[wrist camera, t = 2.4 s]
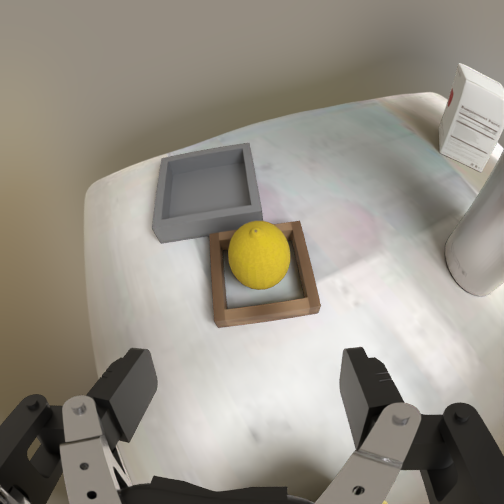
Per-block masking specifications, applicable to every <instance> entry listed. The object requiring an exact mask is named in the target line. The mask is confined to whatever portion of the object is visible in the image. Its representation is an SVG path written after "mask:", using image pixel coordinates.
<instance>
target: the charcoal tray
mask: <svg viewBox="0 0 504 504" xmlns="http://www.w3.org/2000/svg"><path fill="white" fill-rule="evenodd" d="M252 221H263V216H262V208H261V202H260V197H259V191H258V186H257V181H256V175H255V170H254V165H253V159H252V154H251V149H250V144H249V143H244V144H238V145H231V146H225V147H218V148H212V149H207V150H201V151H196V152H191V153H185V154H180V155H176V156H171V157H166V158H162V159H161V165H160V172H159V178H158V185H157V192H156V200H155V208H154V216H153V225H152V229H153V231H154V233H155V234H156V236H157V238H158V239H159V241H160V243H161V244H162V243H168V242H174V241H180V240H186V239H193V238H199V237H206V236H209V234H212V233H218V232H225V231H232V230H238V229H239V228H240V227H241V226H243V225H244V224H246V223H249V222H252Z"/></svg>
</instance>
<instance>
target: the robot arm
mask: <svg viewBox="0 0 504 504" xmlns="http://www.w3.org/2000/svg"><path fill="white" fill-rule="evenodd" d="M445 257H446V262H447V265H448V268H449V270H450V272H451V274H452V276H453V277H454V279H455V280H456V282H457V283H458V284H459V285H460V286H461V287H462V288H463V289H465V290H466V291H467V292H469V293H471V294H473V295H477V296H486V295H488V294H490V293H492V292H493V291H494V290H495V289H497V288H498V287H499V286H500V285H501V284H503V283H504V150H503V152H502V154H501V156H500V158H499V160H498V162H497V163H496V165H495V167H494V169H493V171H492V172H491V174H490V176H489V178H488V179H487V181H486V183H485V184H484V186H483V188H482V189H481V191H480V192H479V194H478V196H477V197H476V199H475V200H474V202H473V203H472V205H471V206H470V208H469V210H468V211H467V213H466V214H465V215H464V217H463V218H462V220H461V221H460V223H459V224H458V226H457V227H456V228H455V230H454V231H453V233H452V234H451V235H450V237H449V238H448V240H447V242H446V246H445ZM156 390H157V376H156V373H155V369H154V365H153V361H152V358H151V354H150V351H149V350H148V349H138V348H131V349H130V350H129V351H128V352H127V353H126V355H125V356H124V357H123V358H119V359H118V360H116V361H115V362H113V363H112V364H111V365H110V366H109V367H108V369H107V370H106V372H104V374H103V375H102V378H101V377H100V379H99V380H98V381H97V382H96V384H95V385H94V386H93V387H92V389H91V390H90V391H89V392H88V394H87V395H86V396H83V395H82V396H81V395H80V396H75V397H72V398H70V399H69V400H67V401H66V402H65V404H64V405H63V406H50V405H49V404H48V402H47V400H46V398H45V397H44V396H42V395H39V394H34V395H30V396H27V397H26V398H24V399H23V400H22V401H21V402H20V403H19V405H18V406H17V407H16V408H15V409H14V410H13V411H12V413H11V414H10V415H9V416H8V417H7V418H6V420H5V421H4V422H3V423H2V424H1V426H0V504H46V503H47V501H48V499H49V497H50V495H51V493H52V491H53V489H54V487H55V486H56V484H57V482H58V480H59V478H60V476H61V474H62V473H63V474H64V480H65V485H66V490H67V495H68V499H69V503H70V504H382V503H383V501H384V500H385V498H386V496H387V494H388V493H389V491H390V489H391V487H392V485H393V483H394V481H395V480H396V478H397V476H398V474H399V472H400V470H420V472H421V476H422V479H423V482H424V485H425V489H426V492H427V495H428V499H429V502H430V504H504V456H503V454H502V453H501V451H500V449H499V447H498V445H497V444H496V442H495V440H494V438H493V437H492V435H491V433H490V432H489V430H488V428H487V427H486V425H485V423H484V422H483V420H482V418H481V417H480V415H479V414H478V412H477V411H476V409H475V408H474V407H472V406H471V405H469V404H466V403H454V404H451V405H449V406H448V407H447V408H446V409H445V411H444V413H443V415H423V414H421V413H420V411H419V410H418V409H417V408H416V407H414V406H413V405H411V404H408V403H404V401H403V399H402V397H401V395H400V393H399V391H398V389H397V387H396V386H395V384H394V382H393V380H392V378H391V376H390V374H389V373H388V371H387V369H386V367H385V365H384V364H383V363H382V362H381V361H379V360H378V359H377V358H375V357H374V358H368V357H367V355H366V353H365V351H364V349H363V347H357V348H347V349H344V350H343V356H342V364H341V372H340V393H341V397H342V400H343V404H344V407H345V411H346V414H347V418H348V422H349V425H350V429H351V433H352V437H353V440H354V444H355V448H356V450H355V451H354V452H353V454H352V455H351V456H350V458H349V459H348V461H347V462H346V463H345V465H344V466H343V468H342V469H341V470H340V472H339V473H338V474H337V476H336V477H335V478H334V480H333V481H332V482H331V484H330V485H329V486H328V487H327V489H326V490H325V491H324V492H323V494H322V495H321V496H320V497H319V498H318V500H317V501H316V502H315V503H314V502H312V501H310V500H307V499H304V498H301V497H297V496H292V495H287V487H249V488H243V489H236V490H229V491H220V492H216V491H211V490H208V489H205V488H202V487H199V486H196V485H193V484H190V483H188V482H185V481H180V480H174V479H168V478H163V477H158V476H153V478H152V481H151V483H147V484H138V485H132V483H131V481H130V478H129V476H128V473H127V471H126V468H125V466H124V463H123V460H122V458H121V455H120V452H119V449H118V447H117V445H116V444H117V443H118V441H119V440H120V441H124V442H128V443H129V442H130V440H131V439H132V437H133V435H134V433H135V431H136V429H137V427H138V425H139V423H140V421H141V419H142V417H143V415H144V413H145V411H146V409H147V407H148V406H149V404H150V402H151V400H152V398H153V396H154V394H155V392H156ZM36 437H37V438H38V440H39V441H40V443H41V445H40V447H39V448H38V450H37V451H36V452H35V454H34V456H33V457H32V458H31V460H30V461H29V460H28V458H27V450H28V448H29V447H30V445H31V444H32V442H33V441H34V440H35V438H36Z"/></svg>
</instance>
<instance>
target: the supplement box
mask: <svg viewBox="0 0 504 504" xmlns="http://www.w3.org/2000/svg"><path fill="white" fill-rule="evenodd" d="M503 129H504V88H503V87H502V85H501V84H500V83H498V82H497V81H495V80H493V79H491V78H489V77H487V76H485V75H483V74H481V73H479V72H477V71H476V70H474V69H472V68H470V67H468V66H466V65H463V64H461V63H459V64H458V67H457V71H456V74H455V78H454V82H453V85H452V89H451V92H450V96H449V99H448V102H447V105H446V108H445V111H444V114H443V117H442V120H441V123H440V126H439V147H440V153H441V154H443V155H445V156H448V157H450V158H452V159H454V160H456V161H458V162H461V163H463V164H465V165H467V166H469V167H471V168H473V169H475V170H477V171H479V172H482V170H483V169H484V167H485V165H486V163H487V161H488V159H489V157H490V155H491V153H492V151H493V150H494V148H495V146H496V144H497V141H498V139H499V137H500V135H501V133H502V131H503Z"/></svg>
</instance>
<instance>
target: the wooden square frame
mask: <svg viewBox="0 0 504 504" xmlns="http://www.w3.org/2000/svg"><path fill="white" fill-rule="evenodd" d="M273 225H275V226H276V227H277V228H279V229H280V230H281V232H282V233H283V234H284V236H285V237H286V239H287V241H292V243H293V247H294V252H295V256H296V261H297V265H298V270H299V274H300V279H301V284H302V288H303V293H304V298H302V299H296V300H290V301H283V302H277V303H270V304H263V305H256V306H249V307H241V308H234V309H227V301H226V289H225V277H224V264H223V250H228V249H229V245H230V241H231V238H232V237H233V235H234V233H235V232H236V231H237V230H232V231H225V232H218V233H212V234H209V237H210V259H211V278H212V295H213V310H214V322H215V323H216V325H217V326H218V328H221V327H229V326H237V325H245V324H253V323H260V322H267V321H274V320H280V319H287V318H293V317H299V316H305V315H311V314H317V313H318V312H319V309H320V307H321V304H320V300H319V296H318V291H317V287H316V283H315V278H314V274H313V270H312V266H311V262H310V258H309V254H308V250H307V246H306V242H305V238H304V234H303V231H302V227H301V223H300V221H295V222H287V223H280V224H273Z"/></svg>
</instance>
